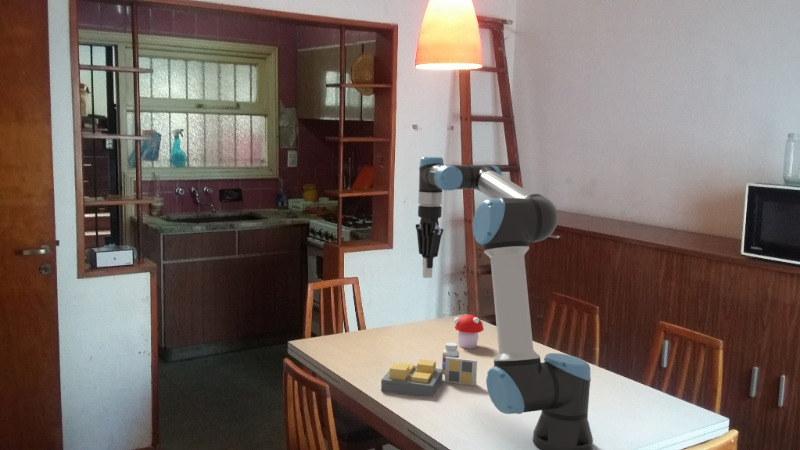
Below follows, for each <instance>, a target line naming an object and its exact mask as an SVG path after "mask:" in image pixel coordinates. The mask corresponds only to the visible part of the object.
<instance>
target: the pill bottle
mask: <svg viewBox="0 0 800 450" xmlns="http://www.w3.org/2000/svg"><path fill="white" fill-rule="evenodd" d="M444 345H445V346H444V349H443V351H442V360H441V361H442V362H441V369H443V374H444V375H445V360H446V357H453V358H460V352H459V350H458V344H457V343H455V342H446V343H445V344H444Z"/></svg>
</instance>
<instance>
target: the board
mask: <svg viewBox="0 0 800 450" xmlns="http://www.w3.org/2000/svg"><path fill="white" fill-rule="evenodd" d="M415 372H417V365H414V370H413V372H412V373H409V377H408V378H407V380H406V381H405V380H397V379H389V378H390V369H389V370H388V371H387V372H386V373H385V374H384V376H383V377H382V378H381V385H380V386H381V388H380V391H381V392H388V393H397V394H402V395H409V396H410V395H411V396H418V397H419V396H420V397H427V398H433V396H434V395H435V393H436V392H437V390H438V388H439V387H440V385H441V383H442V381H443V374H444V373H443V369H442V368H437V367H436V371H435V374H434V375H433V376H431V380H430V381H429V383H422V382H414V381H412V376H413V375H414V373H415Z"/></svg>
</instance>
